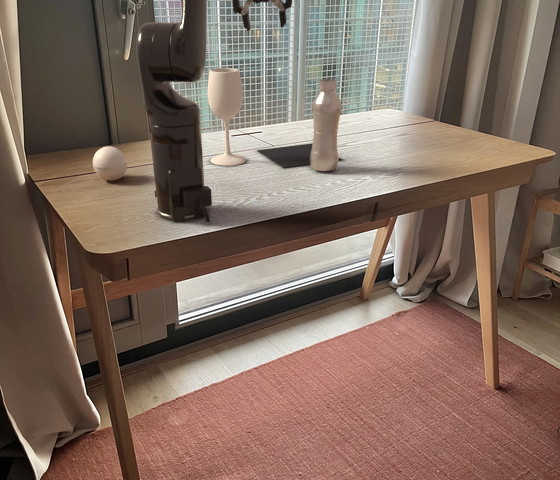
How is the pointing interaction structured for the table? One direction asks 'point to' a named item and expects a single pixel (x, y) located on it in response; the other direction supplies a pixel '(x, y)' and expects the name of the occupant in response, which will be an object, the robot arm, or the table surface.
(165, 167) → the robot arm
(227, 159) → the wineglass
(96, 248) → the table surface
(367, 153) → the table surface
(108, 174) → the white sphere
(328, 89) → the plastic bottle
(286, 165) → the felt mat
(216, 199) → the table surface
